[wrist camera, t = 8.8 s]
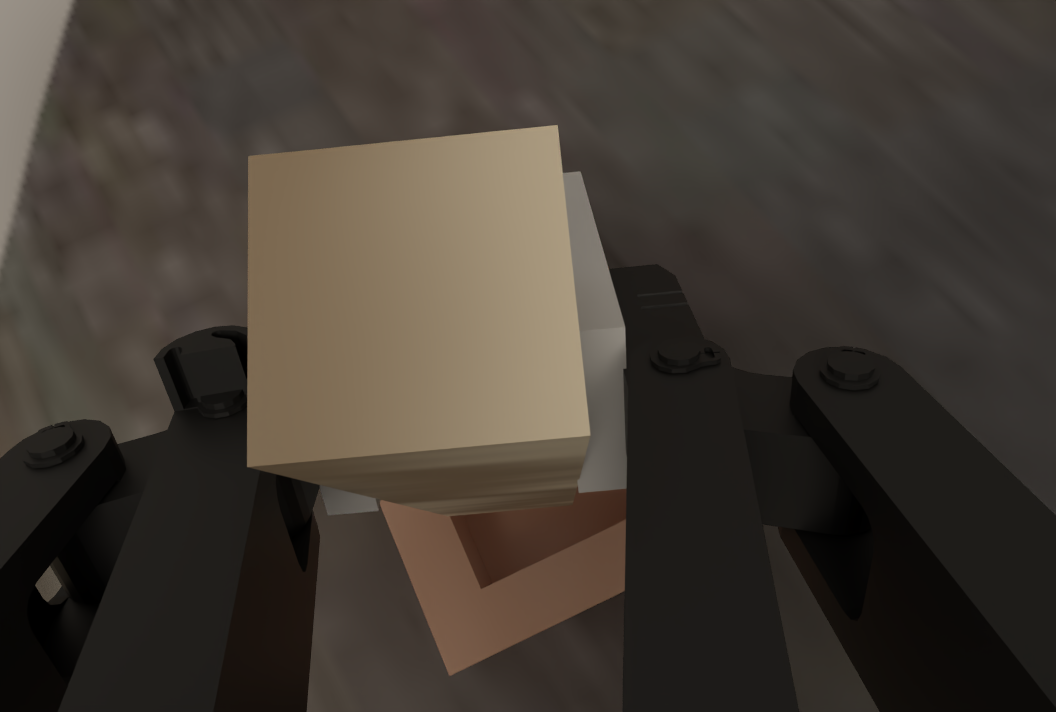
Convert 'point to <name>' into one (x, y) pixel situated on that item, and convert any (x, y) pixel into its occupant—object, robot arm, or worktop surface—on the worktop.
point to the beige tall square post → (417, 322)
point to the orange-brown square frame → (509, 569)
